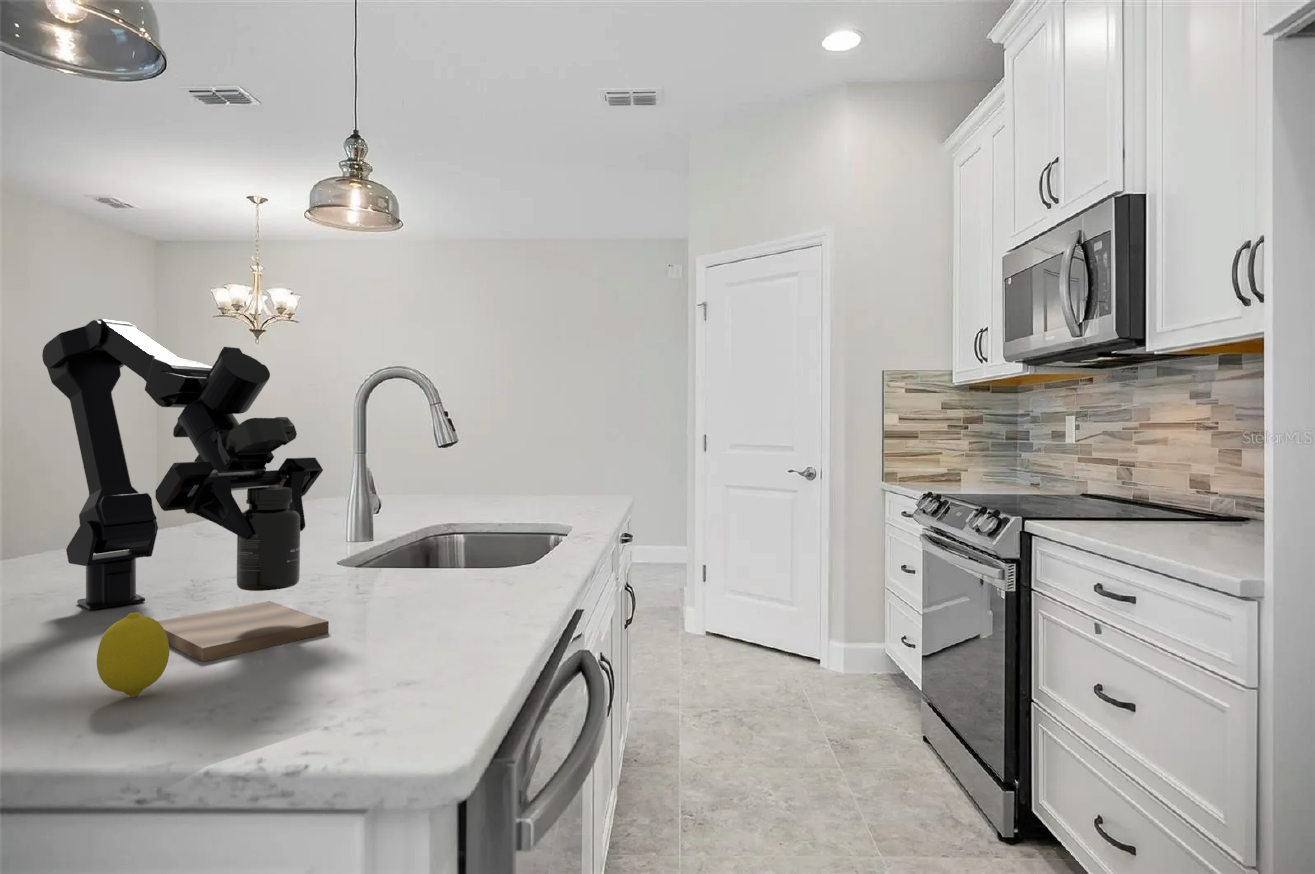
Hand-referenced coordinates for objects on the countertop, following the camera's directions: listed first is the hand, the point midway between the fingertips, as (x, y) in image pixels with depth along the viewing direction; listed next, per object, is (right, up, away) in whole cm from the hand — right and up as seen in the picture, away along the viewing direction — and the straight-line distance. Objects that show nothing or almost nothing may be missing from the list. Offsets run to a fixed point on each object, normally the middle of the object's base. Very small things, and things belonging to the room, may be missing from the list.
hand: (276, 532), depth 87 cm
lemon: (-3, -13, -19) cm, 24 cm away
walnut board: (-5, -13, +1) cm, 14 cm away
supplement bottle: (-1, -7, +1) cm, 7 cm away
